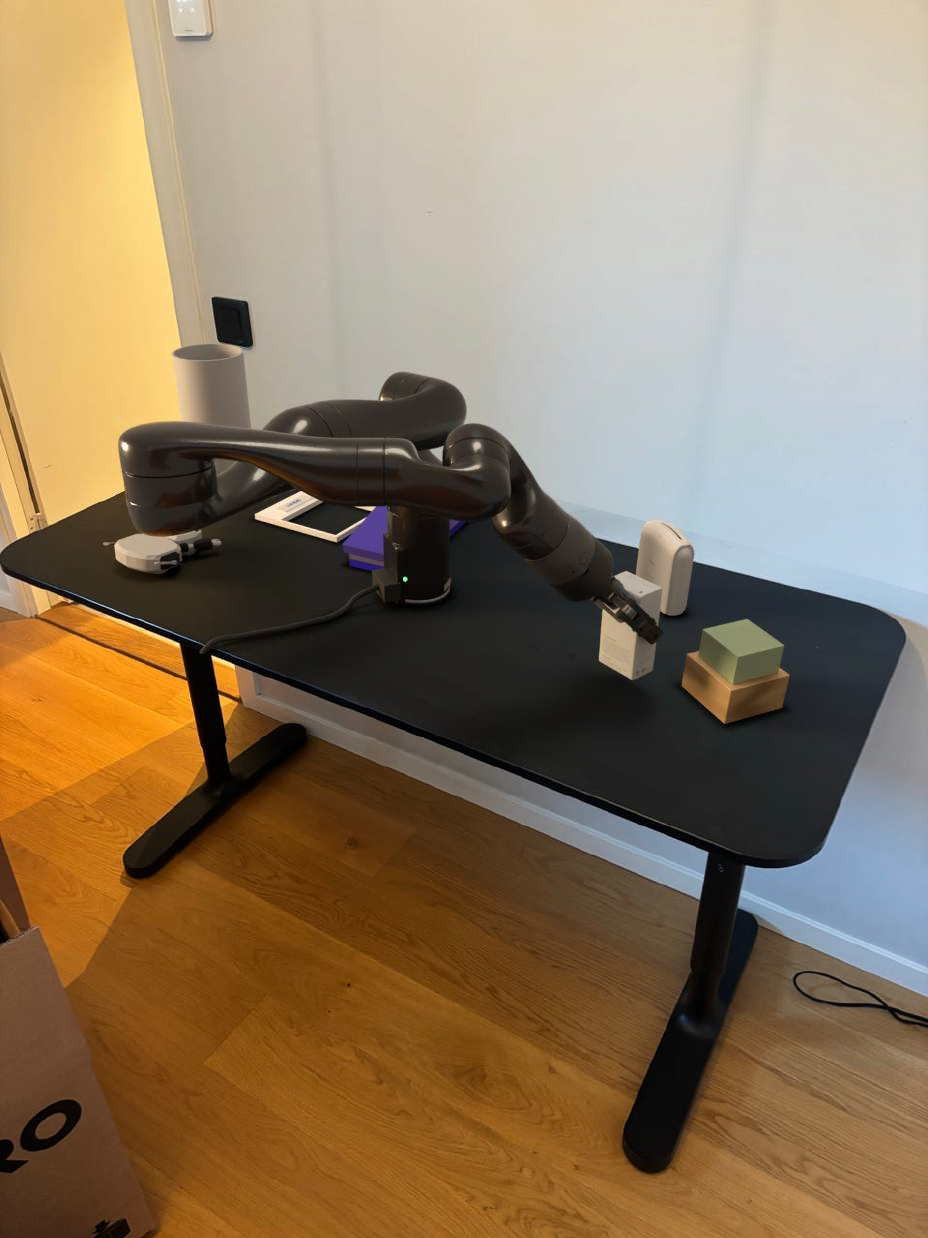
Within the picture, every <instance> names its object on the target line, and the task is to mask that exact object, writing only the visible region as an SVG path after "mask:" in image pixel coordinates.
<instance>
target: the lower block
mask: <svg viewBox="0 0 928 1238" xmlns="http://www.w3.org/2000/svg"><path fill="white" fill-rule="evenodd" d="M698 654H699V650H696V651H693V652H688V653H686V657H685V662H684V669H683V675H682V681H681V687H682V688H683V689H684V690H686V691H687V693H689V694H690V695H691V696H692V697H693V698H694V699H696V700H697V701H698V702H699V703H700V704H701V705H703V707H704V708H705V709H706V710H708V711H709V712H710V713H711V714H713V716H714V717H716V718H717V719H718V720H719V721H720V722H722V724H724V725H727V724H729V723H733V722H737V721H740V720H744V719H748V718H751V717H754V716H758V715H762V714H765V713H768V712H773V711H775V710H780V709H782V708H783V706H784V701H785V697H786V693H787V689H788V685H789V680H790V676H791V675H790V674H789V673H788V672H786V671H785V670H783V669H782V668H781V667H779V671H778V673H774V674H770V675H767V676H763V677H759V678H755V679H751V680H748V681H744V682H740V683H736V684H732V683H730V682H729V681H728V680H727V679H726V678H724V677H723V676H722V675H721V674H720V673H718V672H717V671H716V670H715V669H713V668H712V667H711V666H710V665H709V664H707V663H706V662H705V661H704V660H703V659H701V658H700V657H699V656H698Z"/></svg>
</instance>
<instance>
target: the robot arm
mask: <svg viewBox="0 0 928 1238" xmlns="http://www.w3.org/2000/svg"><path fill="white" fill-rule="evenodd" d="M467 413H468V407H467V402H466V399H465V396H464V395H463V393H462V392H461V390H460V389H459V388H458V387H457V386H455V384H452V383H450V382H449V381H447V380H445V379H441V378H439V377H434V376H429V375H425V374H420V373H415V372H410V371H397V372H394V373H392V374H391V375H390V376H388V377H387V379H385V381H384V382H383V384H382V386H381V389H380V391H379V396H378V399H360V398H359V399H354V398H350V399H349V398H339V399H338V398H337V399H335V398H334V399H325V400H318V401H313V402H310V403H305V404H302V405H297V406H294V407H293V406H292V407H289V408H287V409H284V410H282V411H281V412H279V413H277V414H276V415H275V416H273V418H271V419H270V420H269V421H268V422H267V423H266V424H265V425H264V426H263V427H262V429H259V428H252V427H251V428H242V427H233V426H224V425H216V424H207V423H197V422H185V421H181V420H166V421H165V420H163V421H152V422H146V423H141V424H138V425H135V426H132V427H129V428H128V429H126V430H124V432H122V433H121V434H120V435H119V437H118V441H117V449H118V459H119V464H120V469H121V476H122V481H123V489H124V494H125V501H126V506H127V511H128V516H129V519H130V521H131V524H132V525H133V527H134V528H135V529H136V531H138V532H139V533H140V534H145V535H149V536H157V537H167V536H175V535H181V534H185V533H189V532H193V531H196V530H201V529H205V528H207V527H210V526H212V525H215V524H217V523H219V522H221V521H223V520H225V519H227V518H229V517H232V516H233V515H236V514H238V513H240V512H242V511H244V510H248V509H249V508H252V507H253V506H255V505H258V504H259V503H263V502H264V501H267V500H269V499H273V498H275V497H277V496H280V495H283V494H286V493H289V492H293V491H295V490H296V491H297V490H298V491H299V492H300V491H302V492H304V493H306V494H307V495H309V496H311V497H313V498H315V499H318V500H320V501H323V502H322V503H326V504H330V505H333V506H339V507H349V508H352V507H353V508H358V507H386V506H387V531H388V532H385V533H383V551H384V568H383V569H377V570H372V571H371V576H372V577H371V579H372V585H371V586H368V587H367V588H364V589H362V590H360V591H358V592H356V593H355V594H354V595H352V596H351V597H350V598H349V600H348V601H347V602H346V604H345V605H344V606H342V607H341V608H339V609H337V610H336V611H333V612H331V613H329V614H326V615H323V616H318V617H314V618H310V619H306V620H302V621H301V620H300V621H298V622H294V623H290V624H284V625H279V626H271V627H266V628H260V629H255V630H249V631H245V632H240V633H232V634H224V635H218V636H216V637H214V638H212V639H210V640H209V641H207V643H205V644H204V645H203V646H202V648H201V649H200V651H199V654H200V655H204V654H207V653H208V652H209V651H210V650H211V649H212V648H213V647H215V646H216V645H218V644H221V643H223V642H230V641H241V640H246V639H251V638H256V637H261V636H265V635H273V634H278V633H284V632H288V631H289V632H290V631H294V630H297V629H301V628H305V627H309V626H313V625H318V624H322V623H325V622H329V621H332V620H334V619H335V620H336V618H339V617H341V616H342V615H344V614H346V613H347V612H349V611H350V610H351V609H352V607H353V606H354V605H355V603H356V602H357V601H358V600H360V599H361V598H363V597H364V596H367V595H370V594H372V593H374V592H376V593H377V595H378V596H379V597H380V599H381V601H382V602H383V603H385V604H386V603H391V602H394V603H395V604H396V606H398V607H399V606H400V607H401V606H410V607H411V606H412V607H425V606H432V605H436V604H438V603H439V604H440V603H441V602H443V601H444V600H446V599H447V598H448V597H449V595H450V593H451V591H450V589H451V583H452V577H450V550H451V548H450V545H451V544H450V543H451V542H450V541H451V539H450V538H451V536H450V519H451V520H455V521H461V522H466V523H478V522H484V521H488V520H491V524H492V528H493V530H494V532H495V533H496V535H497V536H498V537H499V538H500V539H501V540H502V541H503V542H504V543H505V544H506V545H507V546H508V547H509V548H511V550H513V551H514V552H515V553H516V554H518V556H520V557H521V558H522V560H524V561H525V563H526V564H527V566H528V567H529V568H530V569H531V570H532V571H533V572H535V573H536V574H537V575H538V576H539V577H540V578H541V579H542V580H544V581H545V582H546V583H547V584H549V586H551V587H552V588H553V589H554V590H555V591H556V592H557V593H559V595H561V596H562V597H563V599H566V600H568V601H570V602H574V603H578V602H580V603H581V602H586V601H589V600H590V601H591V603H593V604H594V605H595V606H596V607H598V609H600V610H603V609H604V610H605V611H606V612H607V613H609V614H610V615H611V616H612V617H613V618H614V619H615V620H616V621H618V622H619V623H623V622H625V623H626V624H627V625H628V626H629V627H631V628H632V629H631V630H632V631H633V632H636V633H637V635H638V636H639V637H642V638H644V639H645V640H646V641H647V642H648V643H649V644H651V645H653V644H654V643H655V642H656V643H657V641H658V640H659V639H660V638H662V636H663V635H664V631H663V630H662V628H660V627H659V625H658V626H657V625H656V624H657V623H656V622H655V619H654V618H653V617H652V618H651V617H650V615H649V614H647V613H646V612H645V611H644V610H643V609H642V608H641V607H640V606H639V602H638V600H637V599H635V598H634V597H633V596H632V595H631V594H630V593H629V592H628V591H627V590H625V589H624V586H623V584H622V583H621V582H620V581H619V580H618V579H616V578H615V577H614V576H615V575H613V572H614V567H615V561H614V557H613V554H612V553H611V551H610V550H609V549H608V548H607V547H606V546H605V545H604V544H603V543H602V542H601V541H600V540H598V538H596V537H595V535H593V533H592V532H590V530H589V529H588V528H587V527H585V526H584V525H583V524H582V523H581V522H580V521H579V520H578V519H577V518H575V516H573V515H571V514H570V513H568V512H567V511H566V510H565V509H564V508H563V507H561V506H560V504H559V503H558V502H557V501H556V500H554V499H553V497H551V496H550V495H549V494H548V493H547V492H545V490H544V489H543V488H542V487H541V485H540V484H539V482H538V481H537V479H536V477H535V476H534V474H533V472H532V471H531V469H530V468H529V466H528V465H527V464H526V462H525V461H524V459H523V457H522V456H521V454H520V453H519V452H518V449H516V447H515V446H514V445H513V444H512V443H511V441H510V440H509V439H508V438H507V437H506V436H505V435H503V434H502V433H501V432H500V431H498V430H497V429H495V428H494V427H492V426H489V425H486V424H483V423H479V422H467V423H465V422H466V419H467ZM439 448H442V451H441V459H440V458H438V456H437V455H435V453H433V451H432V450H436V449H439ZM215 459H225V460H232V461H236V462H235V463H234V464H233V465H232V466H231V467H229V468H228V469H227V470H226V471H224V472H222V473H221V474H219V475H217V474H216V466H215ZM622 593H623V594H624V595H625V596H626V597H627V598H628V600H627V601H626V603H625V602H624V601H625V597H624V595H623V594H622ZM604 603H605V604H606V605H607V606H608V607H609V608H611V609H612V610H616V609H618V608H620V609H619V610H618V611H617V612H616V614H615V613H614V612H613V611H612V610H611V609H609V608H608V607H607V606H606V605H605V604H604Z"/></svg>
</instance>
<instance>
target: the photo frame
mask: <svg viewBox="0 0 928 1238" xmlns="http://www.w3.org/2000/svg"><path fill="white" fill-rule="evenodd" d="M322 503H324V502H323V501H320V500H318V499H315V498H313V497H311V496H309V495H307V494H306V493H304V492H302V491H300V490H299V491H298V492H297V493H293V494H292V495H290V496H288V497H286V498H284V499H282V500H280V501H279V502H276V503H274V504H273V505H270V506H268V507H267V508H265V509H262V510H260V511H259V512H256V513H254V519H255V520H257V521H260V522H265V523H267V524H271V525H274V526H278V527H282V528H285V529H288V530H293V531H295V532H299V533H302V534H306V535H310V536H313V537H317V538H320V539H324V540H327V541H331V542H334V543H338V542H340V541H342V540H344V539H345V538H348V537H349V536H350V535H351V534H352V533H353V532H354V531H355V530H356V529H357V527H358V526H359V525H360V524H361V523H362V522H363V521H364V520H365V518H366V517H364V518H362V519H361V520H359V521H357V522H355V523H353V524H352V525H351V526H349V527H347V528H346V529H343V530H342V531H340V532H339V533H336V534H333V533H329V532H326V531H322V530H319V529H315V528H311V527H307V526H304V525H301V524H297V523H294V522H290V520H292V519H295V518H296V517H299V516H300V515H302V514H304V513H305V512H307V511H309V510H311V509H313V508H315V507H316V506H319V505H320V504H322ZM357 508H358V509H362V510H365V511H370V512H372V511H373V509H374V508H375V507H357Z"/></svg>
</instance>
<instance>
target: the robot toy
mask: <svg viewBox="0 0 928 1238" xmlns="http://www.w3.org/2000/svg"><path fill="white" fill-rule="evenodd" d="M202 533H203V532H202V530H201V529H199V530H196V531H193V532H189V533H185V534H181V535H175V536H167V537H157V536H149V535H145V534H143V533H135V534H132V535H129V536H125V537H124V538H121V539H118V540H117V541H116V542H103V543H102V545H103V546H114V553H115V559H116V561H117V562H119V563H120V564H122V565H123V566H126V567H127V568H129V569H131V570H134V571H139V572H144V573H149V574H153V575H162V574H164V573H166V572H168V570H170V569H172V568H175V567H177V566H179V565H180V563H181V562H182V561H183V558H182V557H183V556H192V555H194V554H196V552H197V551H199V552H207V551H213V547H216V548H217V547H221V545H222V541H221V540H220V539H218V538H213V539H211V537H205V538H204V537H203V534H202Z"/></svg>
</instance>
